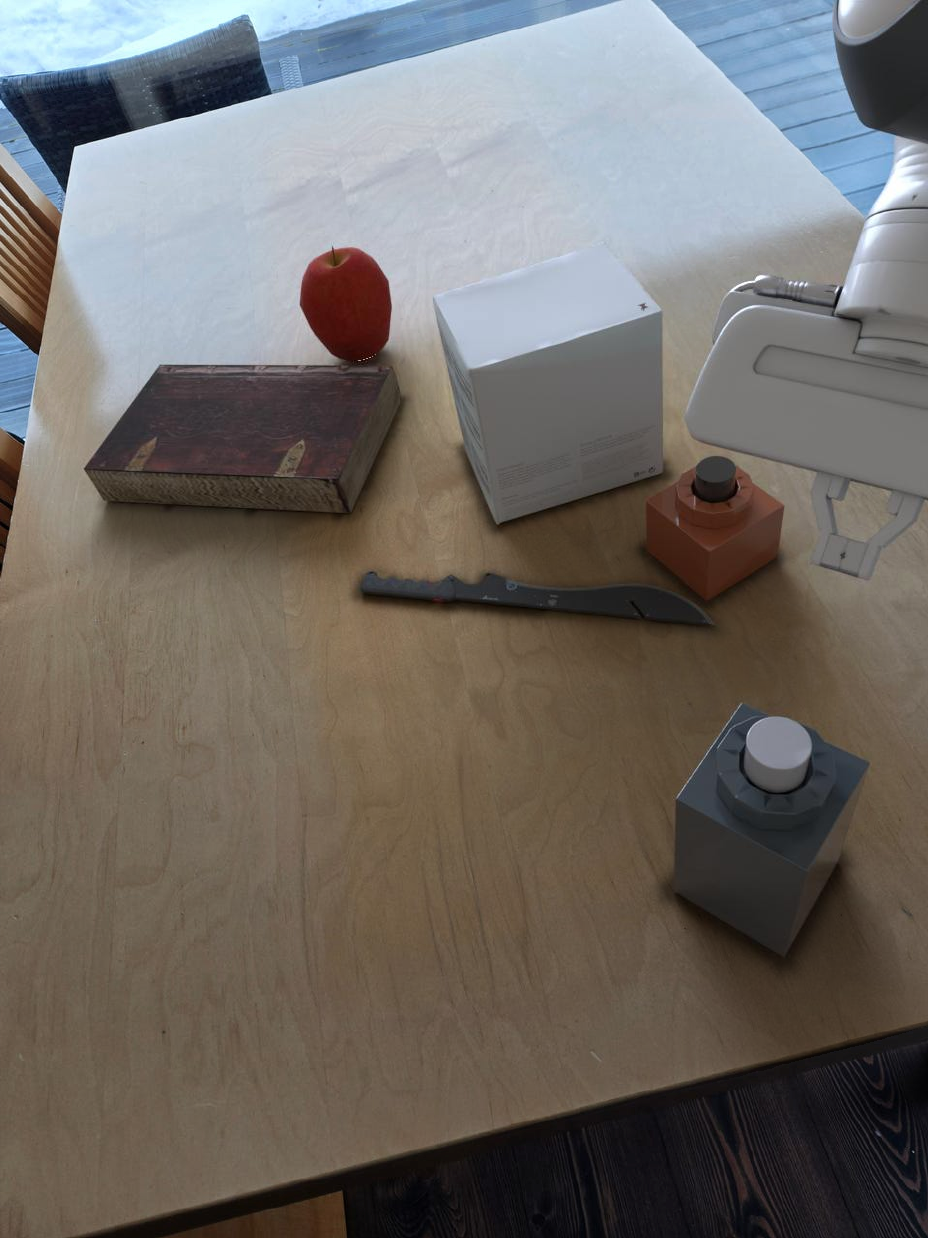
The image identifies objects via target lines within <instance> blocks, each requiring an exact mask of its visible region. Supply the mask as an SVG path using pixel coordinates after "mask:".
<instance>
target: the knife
mask: <svg viewBox="0 0 928 1238" xmlns="http://www.w3.org/2000/svg"><path fill="white" fill-rule="evenodd" d="M359 590H360V592H361V593H363V594H368V595H379V596H388V597H398V598H407V599H417V600H426V601H433V602H439V603H440V602H441V603H443V602H446V603H451V602H453V601H464V602H474V603H483V604H492V605H503V606H513V607H514V606H515V607H522V608H531V609H532V608H533V609H541V610H553V611H561V612H572V613H580V614H590V615H591V614H592V615H601V616H611V617H620V618H630V619H638V620H639V619H641V615H642V617H643V618H644V619H645V620H651V621H658V622H659V621H661V622H670V623H680V624H690V625H699V626H710V627H711V626H716V624H715V623H714V621H713V620H712V619H711V617H710V616H708V614H707V613H706V612H705V611H704V610H702V609H701V608H700V607H699V606H697V604H695V603H694V602H692V601H691V600H690V599H688V598H686V597H684V596H682V595H680V594H678V593H676V592H674V591H671V590H669V589H666V588H663V587H660V586H656V585H651V584H646V583H645V584H644V583H628V582H627V583H617V584H608V585H601V586H592V587H553V586H552V587H551V586H542V585H533V584H527V583H522V582H518V581H515V580H510V579H507V578H506V577H504V576H500V575H497V574H494V573H491V572H486V573H485V574H484V576H483V578H482V579H481V580H480V581H479V582H476V583H470V584H469V583H464V581H462V580H460V579H459V578H458V577H457V576H455V575H453V574H451V573H450V574H449V575H447V576H446V577H445V578H443V579H442V580H440V581H439V580H438V581H435V582H433V581H432V582H431V581H429V580H428V579H422V580H418V581H416V580H415V581H414V580H413V579H410V578H404V579H397V578H395V577H394V576H389V577H386V578H381V577H380V576H378V571H374V570H369V571H367V572H366V573H365V574H364V576H363V579H362V581H361V582H360V585H359ZM632 603H633V604H632ZM633 605H634V606H635V608H634V606H633ZM636 608H637V610H638V611H639V612H640V614H641V615H640V614H639V612H638V611H637V610H636Z"/></svg>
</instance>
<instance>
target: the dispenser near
mask: <svg viewBox="0 0 928 1238" xmlns="http://www.w3.org/2000/svg"><path fill="white" fill-rule="evenodd" d="M768 717H780V716H779V715H778V716H776V715H775V716H774V715H773V716H772V715H771V714H768V713H766V712H764V711H762V710H760V709H758V708H755V707H753V706H751V705H749V704H747V703H745V702H742V701H741V702H740V704H739V705H738V707H737V708H736V709H735V711H734V712H733V714H732V715H731V717H729V719H728V722H727V723H726V724H725V726H724V727H723V728H722V730H721V731H720V733H719V734H718V736H717V737H716V739H715V740H714V741H713V743H712V745H711V746H710V747H709V749H708V751H706V754H705V755H704V757H703V758H702V760H701V761H700V763H699V764H698V765H697V767H696V768H695V770H694V771H693V773H691V776H690V777H689V778H688V780H687V782H686V783H685V785H684V786H683V787H682V789H681V790H680V791H679V793H678V795H677V796H676V798H675V812H674V813H675V817H674V818H675V819H674V862H673V863H674V864H673V865H674V867H673V868H674V869H673V892H675V893H676V894H678V895H679V896H681V897H683V898H684V899H686V900H688V901H689V902H691V903H693V904H695V905H696V906H698V907H699V908H702V910H704V911H706V912H707V913H709V914H711V915H713V916H714V917H715V918H718V919H720V920H721V921H722V922H723V923H726V924H728V925H729V926H731V927H733V928H734V929H736V930H737V931H739V932H741V933H743V934H744V935H746V936H748V938H751V939H753V940H754V941H756V942H757V943H759V944H761V945H763V946H764V947H766V949H769V950H770V951H772V952H774V953H775V954H777V955H779V956H780V957H782V958H785V957H786V955H787V953H788V952H789V950H790V948H791V946H792V945H793V942H794V941H795V939H796V938H797V935H798V934H799V932H800V930H801V928H802V926H803V925H804V923H805V921H806V919H807V918H808V916H809V914H810V912H811V910H812V908H813V907H814V905H815V903H816V902H817V900H818V898H819V896H820V894H821V892H822V891H823V889H824V888H825V885H826V884H827V883H828V880H829V878H830V877H831V875H832V873H833V872H834V869H835V868H836V866H837V864H838V862H839V860H840V858H841V857H840V856H841V854H842V851H843V848H844V844H845V842H846V839H847V835H848V832H849V829H850V825H851V822H852V820H853V817H854V814H855V811H856V807H857V804H858V802H859V799H860V795H861V792H862V788H863V786H864V783H865V779H866V776H867V773H868V770H869V768H870V764H871V762H869V761H868V760H866V759H863V758H861V757H860V756H857V755H855V754H854V753H853V754H852V753H851V752H848V751H846V750H844V749H842V748H840V747H839V746H836V745H834V744H831V743H829V742H827V741H825V740H824V739H823V738H822V736H821V735H820V734H819V732H817V730H816V729H814V728H812V727H810V726H808V725H805V724H803V723H802V722H800V721H797V720H795V719H793V718H791V717H789V716H783V717H784V718H788V719H791V720H793V721H795V722H797V723H798V724H800V725H801V726H802V727H803V728H804V729H805V730H806V731H807V733H808V734H809V736H810V738H811V741H812V752H811V756H810V761H809V765H808V769H807V774H806V777H805V779H804V781H803V782H802V783H801V784H800V785H799V786H798V787H797V788H795V789H793V790H791V791H788V792H783V793H774V792H769V791H766V790H763V789H761V788H759V787H757V786H756V785H755V784H754V783H753V782H751V780H750V779H749V778H748V776H747V775H746V773H745V770H744V754H745V746H746V738H747V734H748V732H749V730H750V728H751V727H752V726H753V725H754V724H755V723H757V722H758V721H760V720H762V719H764V718H768Z"/></svg>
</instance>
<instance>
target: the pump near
mask: <svg viewBox="0 0 928 1238" xmlns="http://www.w3.org/2000/svg"><path fill="white" fill-rule="evenodd" d="M784 717H785V716H779V717H768V718H764V719H762V720H760V721H758V722H757V723H755V724H754V725H753V726H752V727H751V728H750V730H749V732H748V734H747V738H746V746H745V754H744V770H745V773H746V775H747V776H748V778H749V779H750V780H751V782H753V783H754V784H755V785H756V786H757V787H759V788H761V789H763V790H766V791H769V792H774V793H783V792H788V791H791V790H793V789H795V788H797V787H798V786H799V785H800V784H801V783H802V782H803V781H804V779H805V777H806V774H807V769H808V765H809V761H810V756H811V752H812V741H811V738H810V736H809V734H808V733H807V731H806V730H805V729H804V728H803V727H802V726H801V725H800V724H798V723H797V722H798V721H797V722H795V721H796V720H795V721H793V720H794V719H793V720H791V719H792V718H791V719H788V718H784Z"/></svg>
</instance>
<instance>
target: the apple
mask: <svg viewBox="0 0 928 1238" xmlns="http://www.w3.org/2000/svg"><path fill="white" fill-rule="evenodd" d="M390 289H391V287H390V281H389V279H388V278H387V276H386V274H385V273H384V271H383V269H381V267H380V265H379V263H378V262H377V261H376V260H375V258H374V257H373V256H372V255H370V254H368V253H367V252H365V251H363V250H362V249H361V248H358V247H353V246H351V247H350V246H349V247H340V248H334V246H333V245H331V249H330V250H328V251H327V252H324V253H322V254H320V255H318V256H316V257H315V258H314V259H312V261H310V262H309V264H308V265H307V267H306V269H305V271H304V273H303V275H302V279H301V285H300V293H299V294H300V295H299V307H300V309H301V312H302V314H303V315H304V317H305V320H306V322H307V324H308V326H309V328H310V330H311V331H312V332H313V334H314V336H315V337H316V338H317V339H318V340H319V342H320V343H321V344H322V345H323V346H324V347H325V349H326V350H327V351H328V352H329V353H330V355H331V356H333V357H335V358H337V359H339V360H341V361H344V360H346V361H345V362H348V363H350V364H364V363H367V362H370V361H372V360H374V359H375V358H376V357H377V356H378V355H379V354H380V353H381V352H382V351H383V349H384V348H385V346H386V345H387V343H388V342H389V338H390V329H391V320H392V310H393V304H392V297H391V290H390ZM375 354H376V355H375ZM372 356H373V357H372ZM369 357H371V358H369ZM366 358H368V359H366ZM363 359H365V360H363ZM358 360H361V361H358Z"/></svg>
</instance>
